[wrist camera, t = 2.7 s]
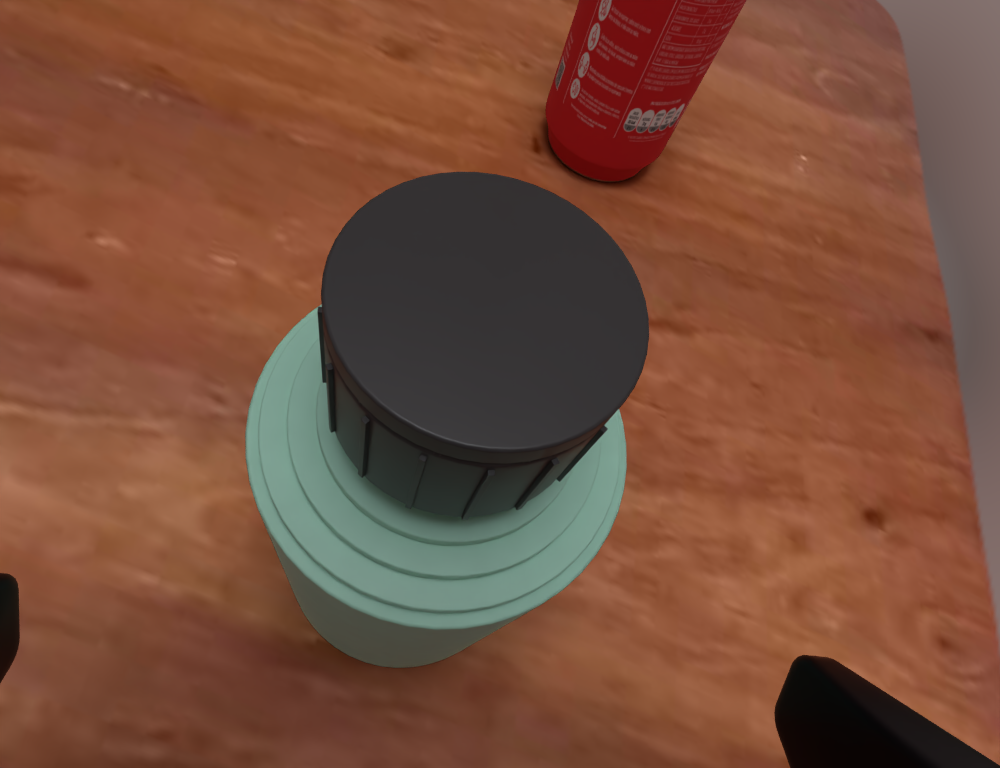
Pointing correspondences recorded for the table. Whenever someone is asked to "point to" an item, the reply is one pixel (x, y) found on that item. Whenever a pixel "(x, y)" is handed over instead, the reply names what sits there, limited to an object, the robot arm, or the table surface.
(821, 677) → the robot arm
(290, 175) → the table surface
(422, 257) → the cap
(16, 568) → the table surface
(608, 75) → the beverage can
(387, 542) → the bottle
